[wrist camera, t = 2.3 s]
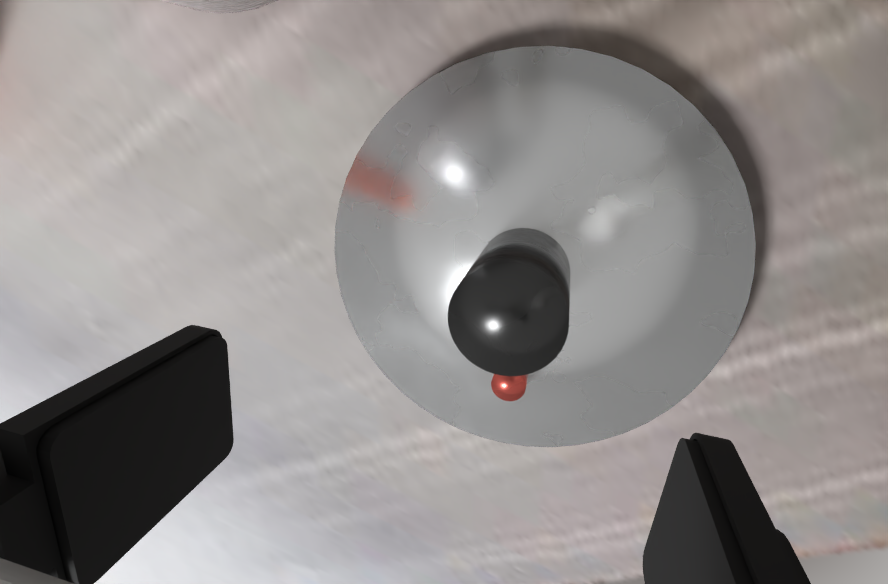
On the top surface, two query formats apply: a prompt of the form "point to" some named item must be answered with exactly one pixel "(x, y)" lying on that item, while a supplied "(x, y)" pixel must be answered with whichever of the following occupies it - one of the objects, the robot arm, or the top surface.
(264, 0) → the pot
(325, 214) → the top surface
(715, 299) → the lid
